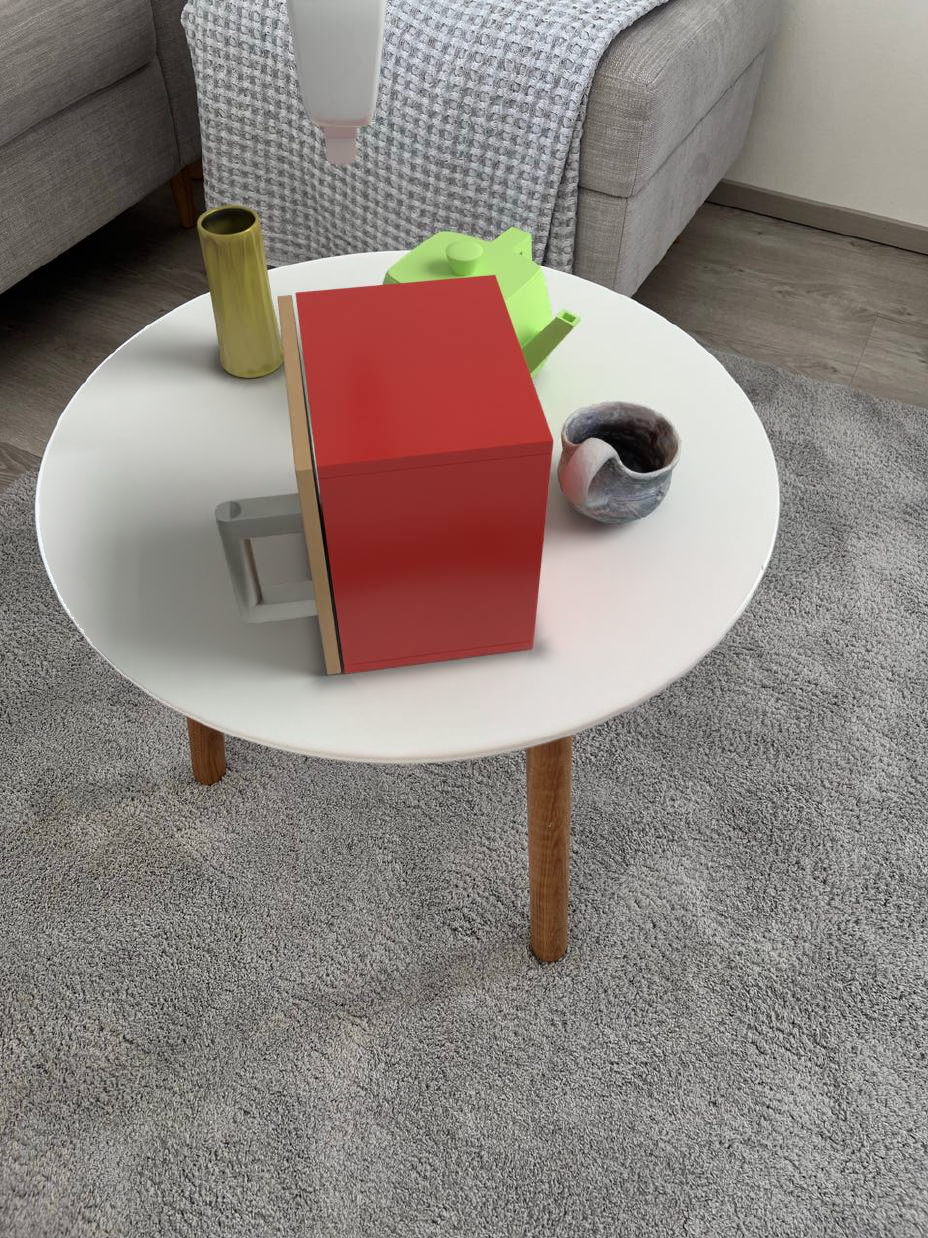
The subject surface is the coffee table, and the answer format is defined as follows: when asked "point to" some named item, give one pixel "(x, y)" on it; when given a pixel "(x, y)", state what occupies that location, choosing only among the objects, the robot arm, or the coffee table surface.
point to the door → (284, 522)
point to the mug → (617, 460)
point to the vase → (240, 291)
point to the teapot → (515, 278)
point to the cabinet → (426, 469)
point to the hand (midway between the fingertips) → (339, 114)
